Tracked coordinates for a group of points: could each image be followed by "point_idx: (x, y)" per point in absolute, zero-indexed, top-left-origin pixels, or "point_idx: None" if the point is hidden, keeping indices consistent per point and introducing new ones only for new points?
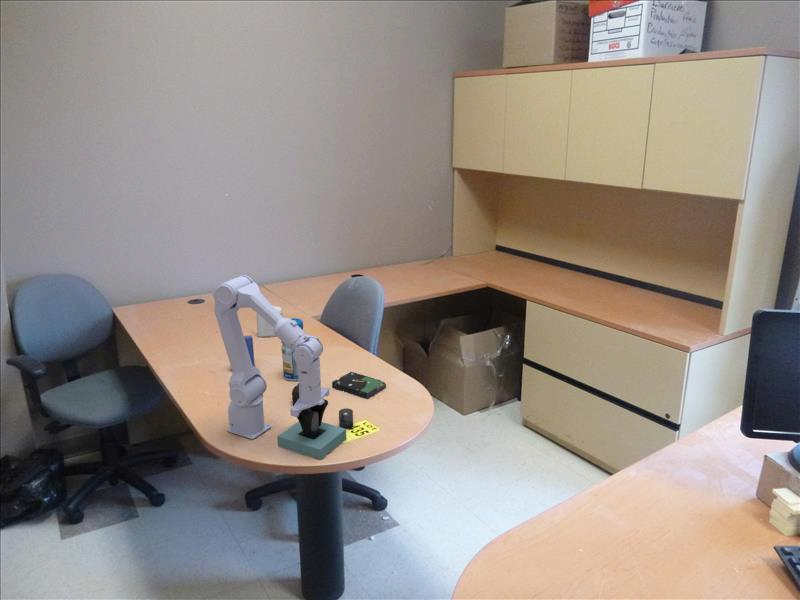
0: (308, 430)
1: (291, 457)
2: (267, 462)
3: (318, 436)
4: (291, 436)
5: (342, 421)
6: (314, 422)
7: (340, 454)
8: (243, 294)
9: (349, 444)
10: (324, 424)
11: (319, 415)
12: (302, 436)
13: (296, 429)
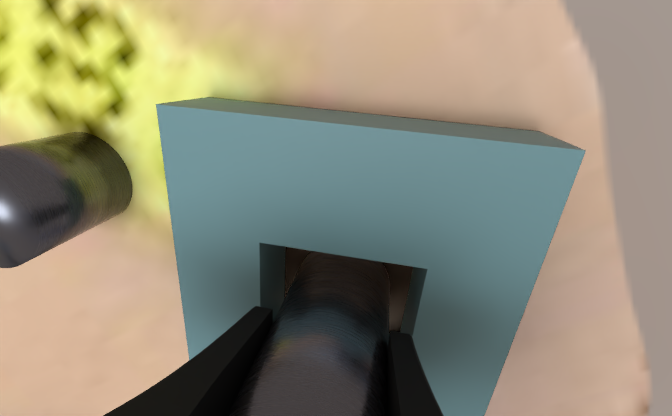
0: (419, 368)
1: (549, 315)
2: (634, 403)
3: (332, 264)
4: None
5: (85, 198)
6: (346, 389)
7: (415, 20)
8: None
9: (258, 31)
10: (199, 289)
11: (215, 398)
12: None
13: None
